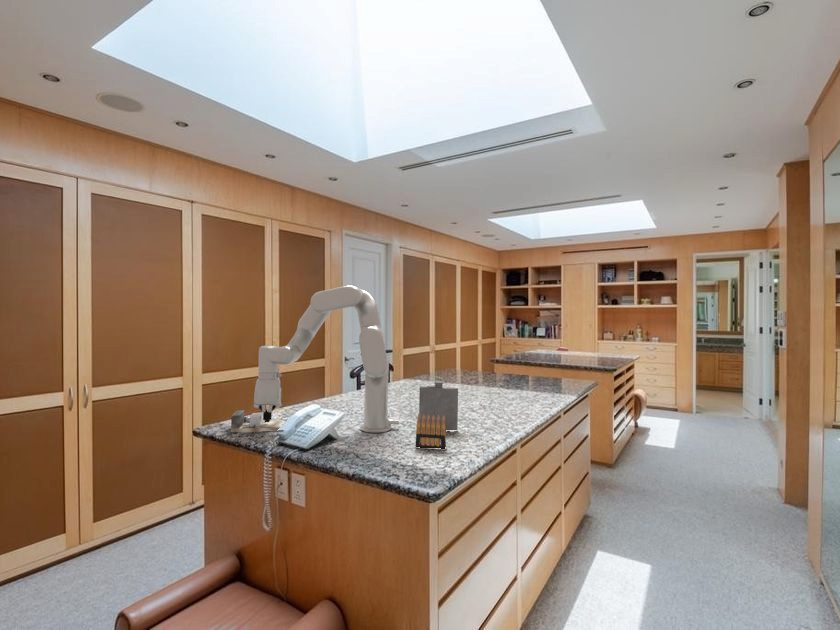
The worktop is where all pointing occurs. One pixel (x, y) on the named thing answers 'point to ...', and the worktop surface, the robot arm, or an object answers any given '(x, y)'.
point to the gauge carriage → (254, 420)
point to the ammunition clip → (430, 433)
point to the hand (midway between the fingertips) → (267, 421)
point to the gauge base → (240, 426)
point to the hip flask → (439, 404)
